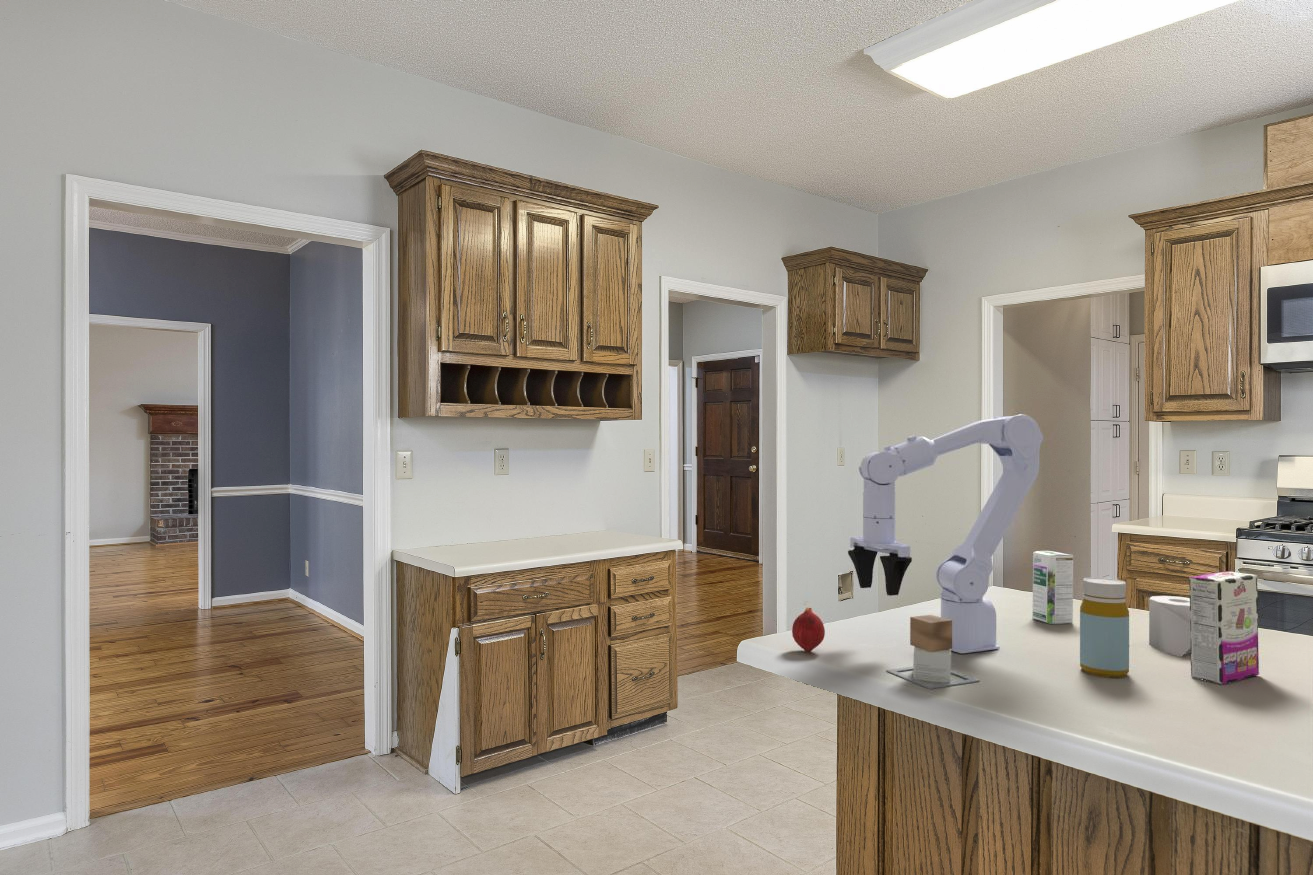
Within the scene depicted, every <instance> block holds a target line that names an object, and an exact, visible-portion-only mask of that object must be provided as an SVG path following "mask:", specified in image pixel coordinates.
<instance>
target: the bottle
mask: <svg viewBox="0 0 1313 875" xmlns="http://www.w3.org/2000/svg"><path fill="white" fill-rule="evenodd" d="M1082 592H1083V593H1082V597H1083V599H1082V601H1081V604H1080V607H1079V666H1080V668H1081V669H1082V670H1083V671H1084V672H1085V673H1087V674H1089V675H1092V676H1097V677H1102V678H1108V679H1109V678H1111V679H1113V678H1114V679H1118V678H1120V679H1121V678H1124V677H1126V676H1127V675H1128V674H1129V673H1130V611H1129V608H1128V605H1127V603H1126V602H1127V598H1126V597H1127V583H1126V581H1124V580H1120V579H1114V578H1107V577H1084V578H1083V580H1082Z"/></svg>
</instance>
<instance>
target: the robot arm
mask: <svg viewBox="0 0 1313 875" xmlns="http://www.w3.org/2000/svg"><path fill="white" fill-rule="evenodd" d="M1043 440H1044V436H1043V433H1042V431H1041V429H1040V427H1039V424H1038V422H1037V420H1035V419H1034V418H1033V417H1031V416H1029V415H1028V414H1016V415H1012V416H1011V415H1010V416H1009V415H1008V416H1002V415H999V416H995V417H992V418H989V419H988V418H987V419H982V420H978V421H974V422H972V423H970V424H967V425H964V426H962V427H959V428H957V429H954V430H952V431H949V432H947V433H945V434H942V435H940V436H937V437H935V438H932V439H929V438H927V437H925V436H922V435H921V436H918V437H917V435H911V436H908V437H906V441H904V442H901V443H898V444H895V445H894V446H891V445H885V446H883V450H882V451H879V452H878V451H873V452H870V453H868V454H866V455H865V456H864V458H863V459H862V460H861V463H860V466H858V471H859V474H860V476H861V478H862V479H863V493H862V516H863V517H862V536H850V537H849V539H850V540H849V542H850V545H849V547H850V548H853V549H849V550H847V554H848V557H849V558H850V560H851V562H852V564H853V566H854V569H855V573H856V575H857V580H858V584H859V588H861V589H870V588H872V585H873V577H874V576H873V575H874V566H875V561H876V557H877V556H878V553H883V554H888V555H880V556H879V560H880V562H881V565H882V569H883V573H884V580H885V581H884V582H885V592H886V596H889V597H891V596H892V597H893V596H899V594H900V590H901V586H902V583H903V579H904V576H905V574H906V572H907V570H908V567H909V566H910V565H911V563H912V561H913V558H912V557H911V545H908V544H904V543H901V542H899V541H896V481H897V479H898V478H899V477H904V476H907V475H909V474H911V473H912V474H913V473H915V472H918V471H920V470H924V469H925V468H928V467H932V466H933V465H934V464H935V463H936V460H937V458H938V457H939V456H942V455H944V454H947V453H951V452H953V451H957V450H960V449H963V448H966V447H969V446H971V445H972V446H973V445H975V444H982V445H988V446H989V447H990V448H991V449H992V450H993V452H994V453H995V454H996V455H997V456H998V457H999V461H1000V463H1001V465H1002V467H1003V472H1002V474H1001V476H1000V478H999V480H998V481H997V483H996V485H995V487H994V488H993V490H992V492H991V494H990V495H989V498H988V499H987V501H986V502H985V504H984V506H983V508H982V509H981V512H980V513H979V515H978V516H977V517H976V520H975V522H974V524H973V526H972V528H971V529H970V530H969V533H968V534H967V536H966V538H965V540H964V542H963V543H961V545H959V546H957V547H956V548H955V549H954V550H952V553H951V554H950V555H949V557H948V558H947V559H945V560H944V561H942V562H941V563H940V564H939V565H938V567H937V569H936V573H935V576H936V578H935V579H936V581H937V583H938V585H939V587H940V588H941V589H942V591H941V593H940V617H942V618H945V619H949V620H952V649H951V652H955V653H958V654H969V653H976V652H984V651H991V650H998V649H1001V646H1000V645H998V644H997V611H996V607H995V606H994V604H993V603H992V601H990V599H988V598H987V597H984V596H985V595H986V593H987V592H988V589H989V581H990V580H989V579H990V576H991V573H992V571H993V570H994V565H993V561H992V560H993V558H992V557H993V556H994V554H995V552H996V550H997V548H998V547H999V545H1000V542H1001V541H1002V539H1003V538H1004V535H1005V534H1006V532H1007V530H1008V529H1009V526H1010V525H1011V523H1012V521H1013V519H1014V518H1015V516H1016V514H1017V512H1019V509H1020V508H1021V505H1022V503H1023V502H1024V501H1025V498H1026V497H1027V495H1028V493H1029V491H1030V489H1031V488H1032V486H1033V484H1034V482H1035V481H1036V480H1037V477H1038V475H1039V472H1040V451H1041V450H1040V446H1041V444H1042V442H1043Z"/></svg>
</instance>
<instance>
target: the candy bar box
mask: <svg viewBox="0 0 1313 875" xmlns="http://www.w3.org/2000/svg"><path fill="white" fill-rule="evenodd" d="M1188 580H1189V584H1188V585H1189V598H1190V629H1191V630H1190V637H1191V654H1190V676H1191V677H1192V678H1194V679H1196V678H1199V679H1198V680H1200V679H1203V680H1202V681H1204V680H1206V681H1205V682H1209V683H1213V682H1214V684H1217V683H1218V685H1226V683H1227V684H1230V683H1229V682H1231V683H1233V682H1238V681H1241V680H1245V678H1246V679H1249V678H1252V677H1256V676H1258V675H1260V671H1259V670H1260V669H1259V668H1260V666H1259V665H1260V662H1259V657H1260V656H1259V653H1260V652H1259V617H1258V616H1259V612H1258V611H1259V610H1258V606H1259V605H1258V575H1257V574H1252V573H1245V572H1239V571H1237V572H1236V571H1221V572H1213V573H1207V574H1201V575H1195V576H1189V578H1188Z"/></svg>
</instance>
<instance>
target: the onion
mask: <svg viewBox="0 0 1313 875" xmlns="http://www.w3.org/2000/svg"><path fill="white" fill-rule="evenodd" d="M825 632H826V630H825V626H824V623H823V621H822V620H821V618H820V617H819V616H818V615H817V614H816V613H814V612H813V608H812V607H811V606H807V607H806V608H805V610H804V611H803V612H802V613H801V614H799V615H798V616H797V617H796V618H795V619H794V621H793V623H792V628H791V634H792V638H793V639H794V642H795V643H796V644H797V646H799V648H801V649H802V650H804V651H805V652H807V653H809V652H812V651H813V650H814V649H816V648H817V647H818V646H820V644H822V642H823V641H824V639H825V634H826V633H825Z"/></svg>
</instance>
